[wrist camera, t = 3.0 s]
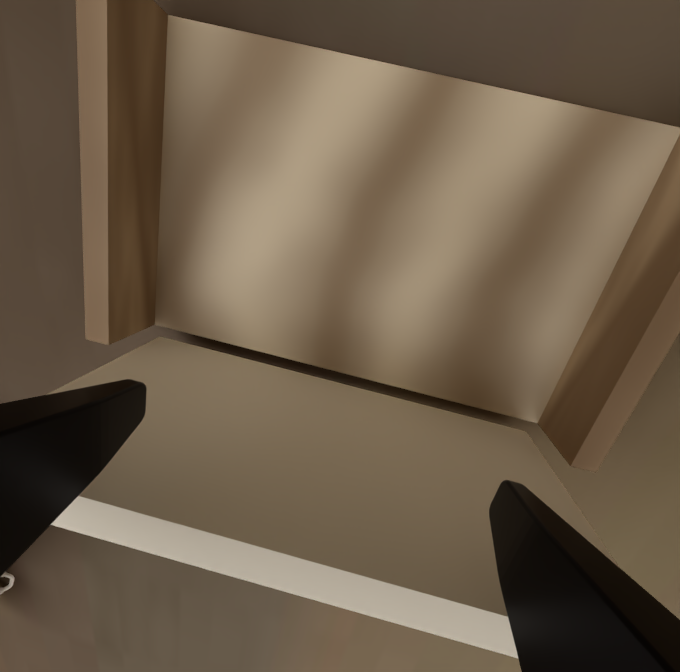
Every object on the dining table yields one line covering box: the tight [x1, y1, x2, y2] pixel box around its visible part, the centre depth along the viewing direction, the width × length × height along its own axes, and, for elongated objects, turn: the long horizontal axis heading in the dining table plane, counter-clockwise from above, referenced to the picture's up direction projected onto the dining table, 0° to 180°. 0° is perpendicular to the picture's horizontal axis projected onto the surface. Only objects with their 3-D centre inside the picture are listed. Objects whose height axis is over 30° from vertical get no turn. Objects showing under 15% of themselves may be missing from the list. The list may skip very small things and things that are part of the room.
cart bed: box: [76, 0, 680, 473], centre depth 14 cm, size 21×12×4 cm, turn 77°
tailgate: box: [46, 336, 620, 658], centre depth 12 cm, size 18×2×9 cm, turn 77°
